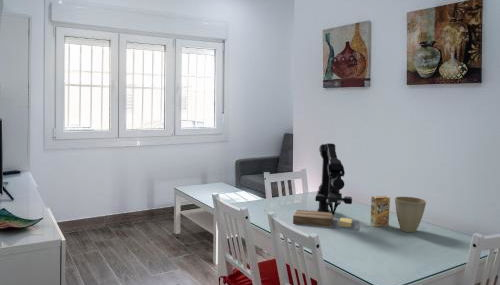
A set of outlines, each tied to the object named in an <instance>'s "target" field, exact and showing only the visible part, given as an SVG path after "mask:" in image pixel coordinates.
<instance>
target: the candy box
mask: <svg viewBox="0 0 500 285" xmlns="http://www.w3.org/2000/svg"><path fill="white" fill-rule="evenodd" d="M370 200H371V201H370V202H371V204H370V222H369V224H370V226H372V227H389V225H390V223H389V222H390V209H391V208H390V206H391V197H390V196H387V195H377V196H371V199H370Z"/></svg>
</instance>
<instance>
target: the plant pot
mask: <svg viewBox="0 0 500 285" xmlns="http://www.w3.org/2000/svg"><path fill="white" fill-rule="evenodd" d="M394 203H395V212H396V218H397V222H398V226H399V228H400V230H401V231H402V232H406V233H416V232H417V231H418V228H419V226H420V224H421V221H422V219H423V216H424V212H425V209H426V205H427V200H425V199H422V198H419V197H414V196H413V197H412V196H396V197H394Z"/></svg>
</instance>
